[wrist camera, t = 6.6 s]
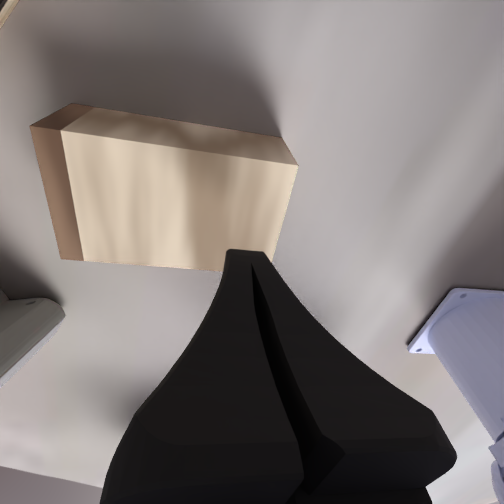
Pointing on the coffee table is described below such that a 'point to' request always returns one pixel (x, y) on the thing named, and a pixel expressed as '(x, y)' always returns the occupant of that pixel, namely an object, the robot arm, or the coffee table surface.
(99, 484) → the coffee table surface
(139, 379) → the coffee table surface
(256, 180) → the beech block
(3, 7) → the hardcover book
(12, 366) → the digital clock
